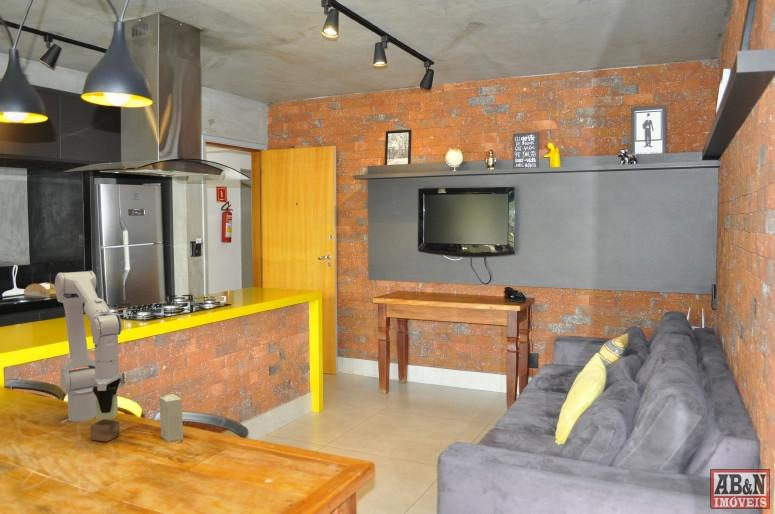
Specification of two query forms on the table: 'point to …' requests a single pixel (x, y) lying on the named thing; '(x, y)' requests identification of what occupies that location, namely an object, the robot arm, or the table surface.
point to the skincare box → (171, 418)
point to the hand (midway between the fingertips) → (107, 409)
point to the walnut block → (105, 430)
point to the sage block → (111, 414)
